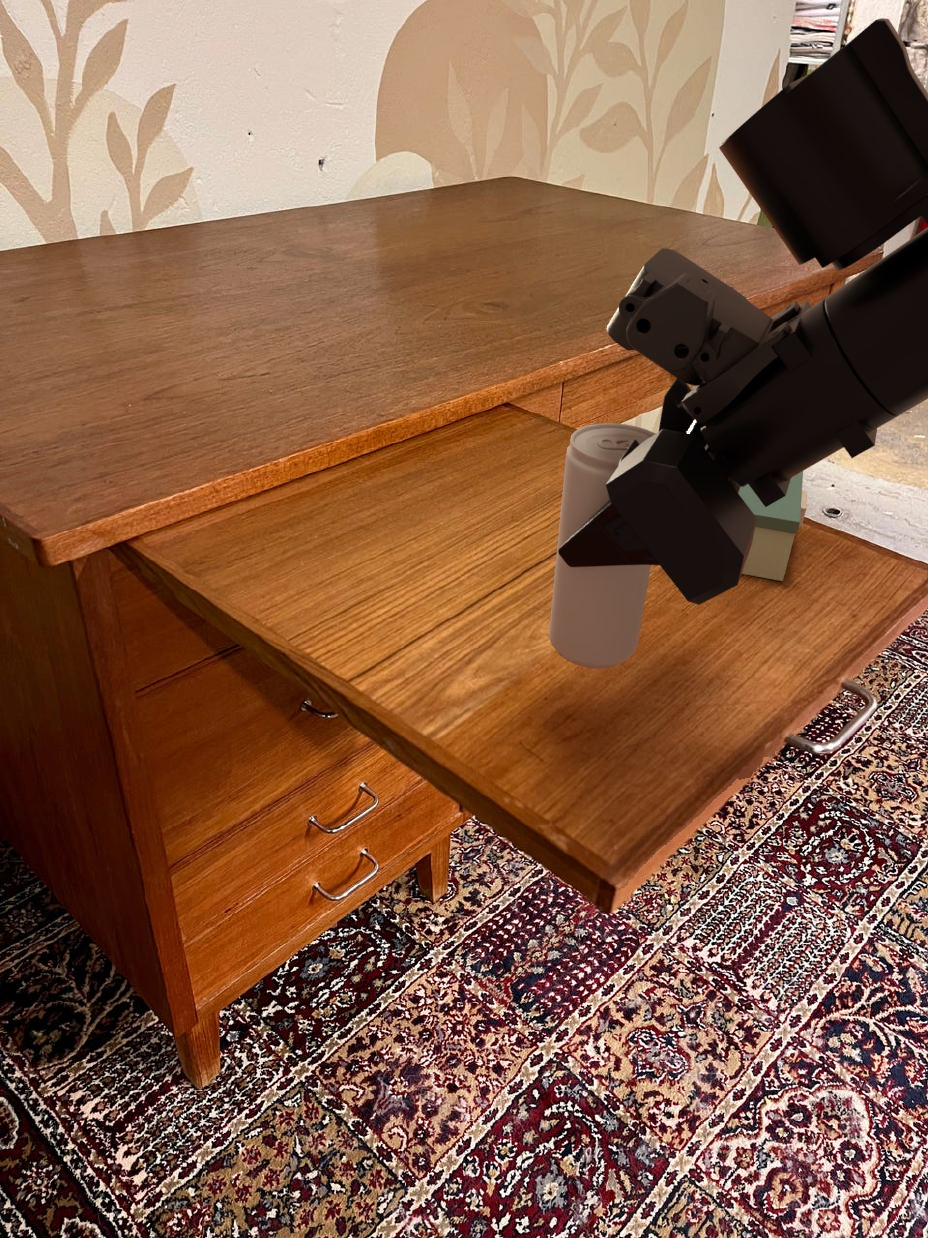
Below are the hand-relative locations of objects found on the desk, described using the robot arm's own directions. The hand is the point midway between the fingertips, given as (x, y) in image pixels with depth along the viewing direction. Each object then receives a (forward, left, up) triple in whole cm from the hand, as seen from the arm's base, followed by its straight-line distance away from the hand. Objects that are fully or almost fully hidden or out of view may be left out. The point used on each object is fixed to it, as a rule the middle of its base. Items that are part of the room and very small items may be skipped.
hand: (579, 535), depth 49 cm
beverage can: (-1, 0, -7) cm, 7 cm away
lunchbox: (-7, -26, -12) cm, 30 cm away
